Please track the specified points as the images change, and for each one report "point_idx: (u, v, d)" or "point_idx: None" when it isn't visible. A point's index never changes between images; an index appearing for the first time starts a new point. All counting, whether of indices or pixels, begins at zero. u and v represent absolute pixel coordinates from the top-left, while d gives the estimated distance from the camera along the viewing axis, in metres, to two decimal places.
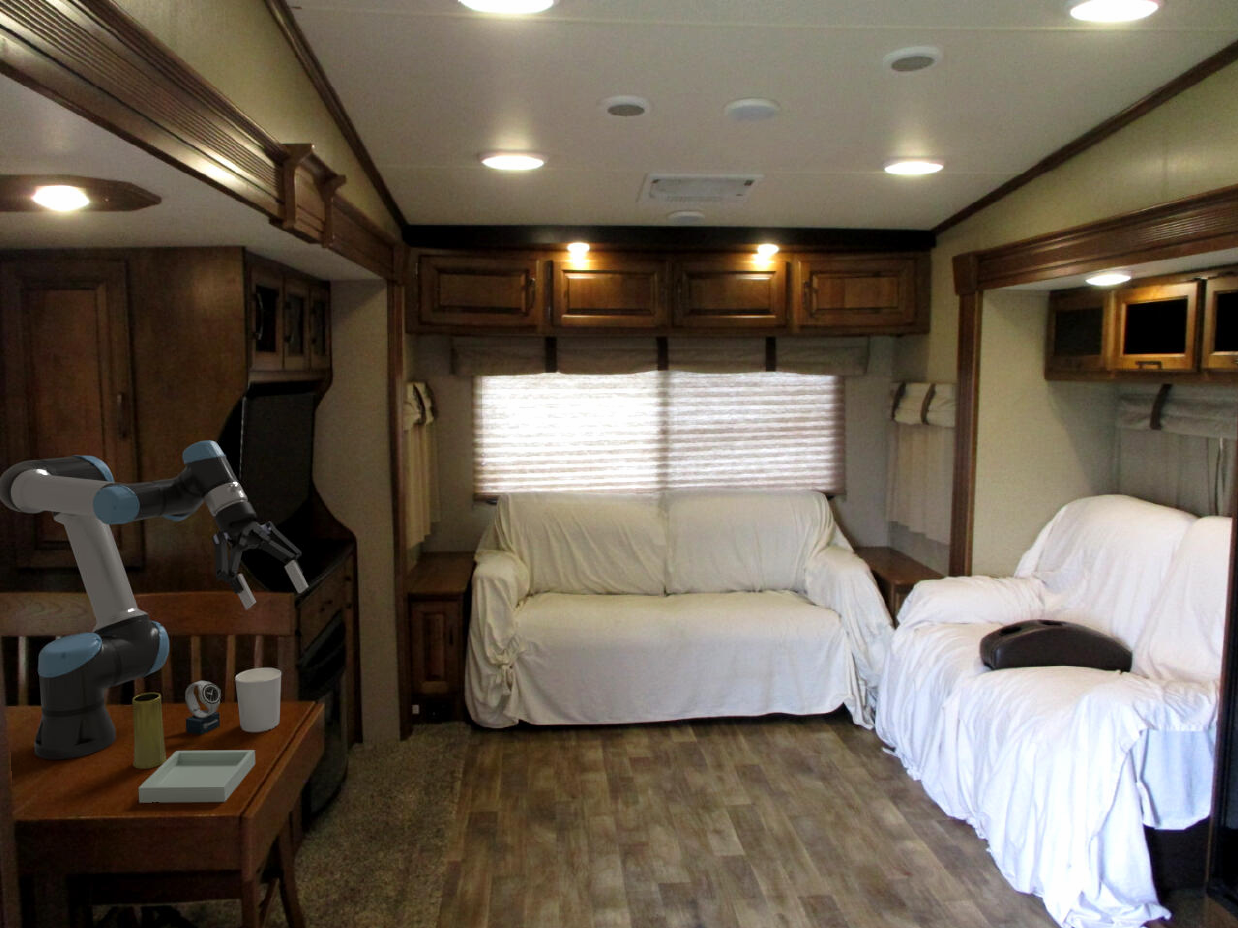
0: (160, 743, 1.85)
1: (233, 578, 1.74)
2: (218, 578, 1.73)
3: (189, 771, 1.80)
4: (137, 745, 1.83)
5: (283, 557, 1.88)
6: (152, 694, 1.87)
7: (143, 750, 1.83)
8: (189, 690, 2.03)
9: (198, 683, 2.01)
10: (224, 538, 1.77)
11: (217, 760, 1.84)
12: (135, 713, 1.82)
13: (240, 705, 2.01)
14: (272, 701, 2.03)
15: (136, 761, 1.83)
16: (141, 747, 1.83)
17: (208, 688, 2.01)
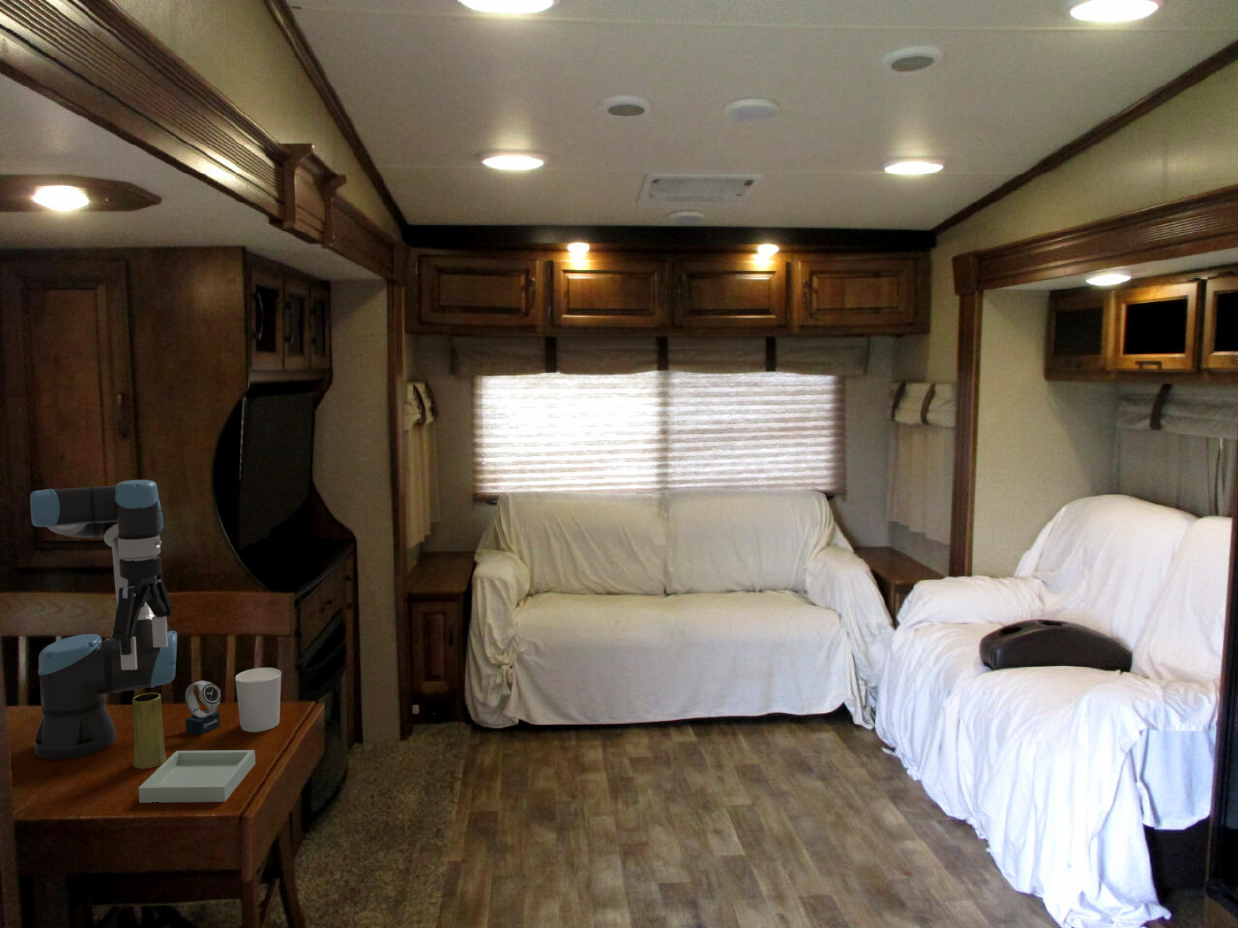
0: (160, 743, 1.85)
1: (128, 641, 1.75)
2: (115, 637, 1.73)
3: (189, 771, 1.80)
4: (137, 745, 1.83)
5: (157, 610, 1.88)
6: (152, 694, 1.87)
7: (143, 750, 1.83)
8: (189, 690, 2.03)
9: (198, 683, 2.01)
10: (133, 596, 1.76)
11: (217, 760, 1.84)
12: (135, 713, 1.82)
13: (240, 705, 2.01)
14: (272, 701, 2.03)
15: (136, 761, 1.83)
16: (141, 747, 1.83)
17: (208, 688, 2.01)
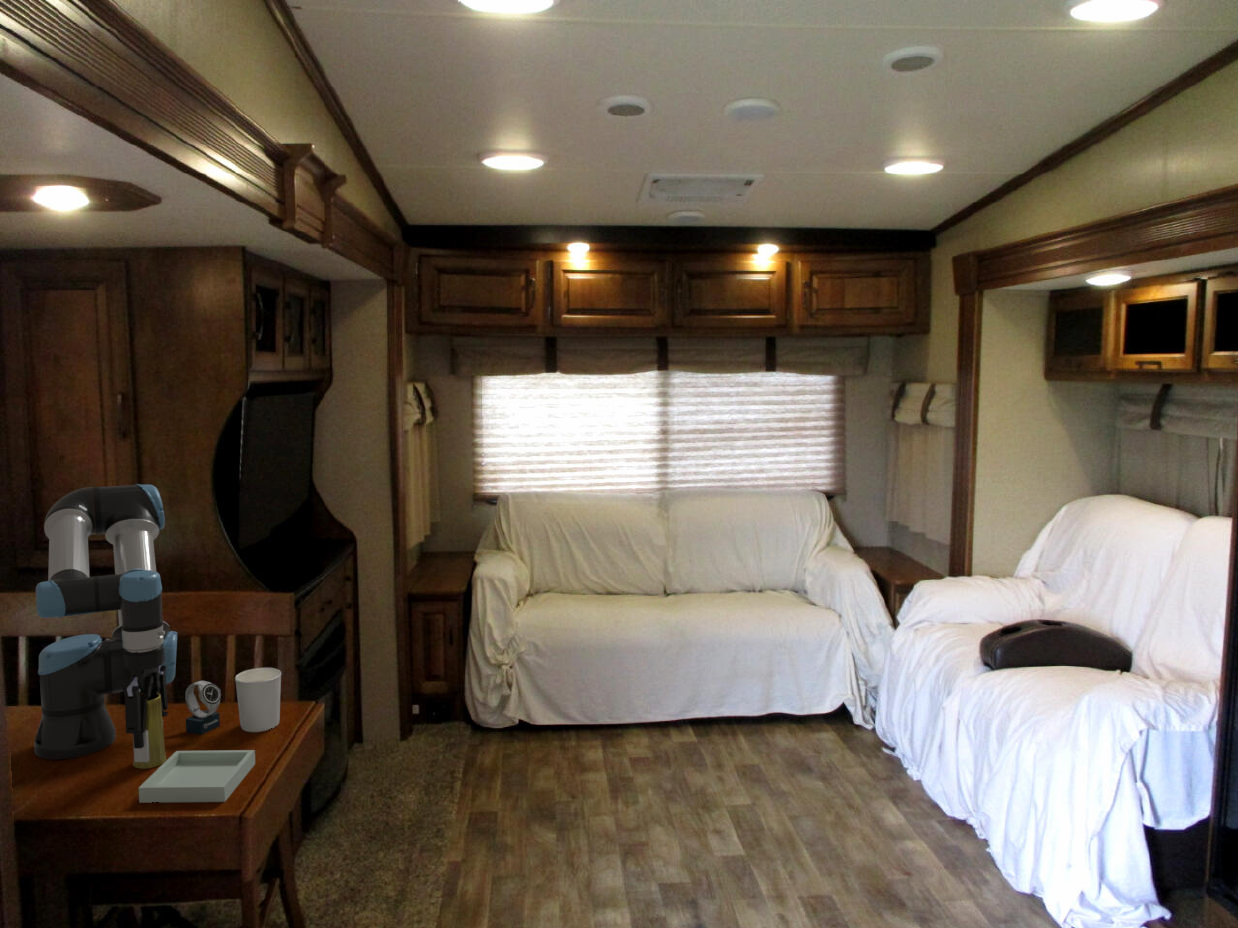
0: (160, 743, 1.85)
1: (140, 735, 1.81)
2: (128, 732, 1.79)
3: (189, 771, 1.80)
4: None
5: None
6: None
7: None
8: (189, 690, 2.03)
9: (198, 683, 2.01)
10: (138, 692, 1.79)
11: (217, 760, 1.84)
12: None
13: (240, 705, 2.01)
14: (272, 701, 2.03)
15: None
16: None
17: (208, 688, 2.01)
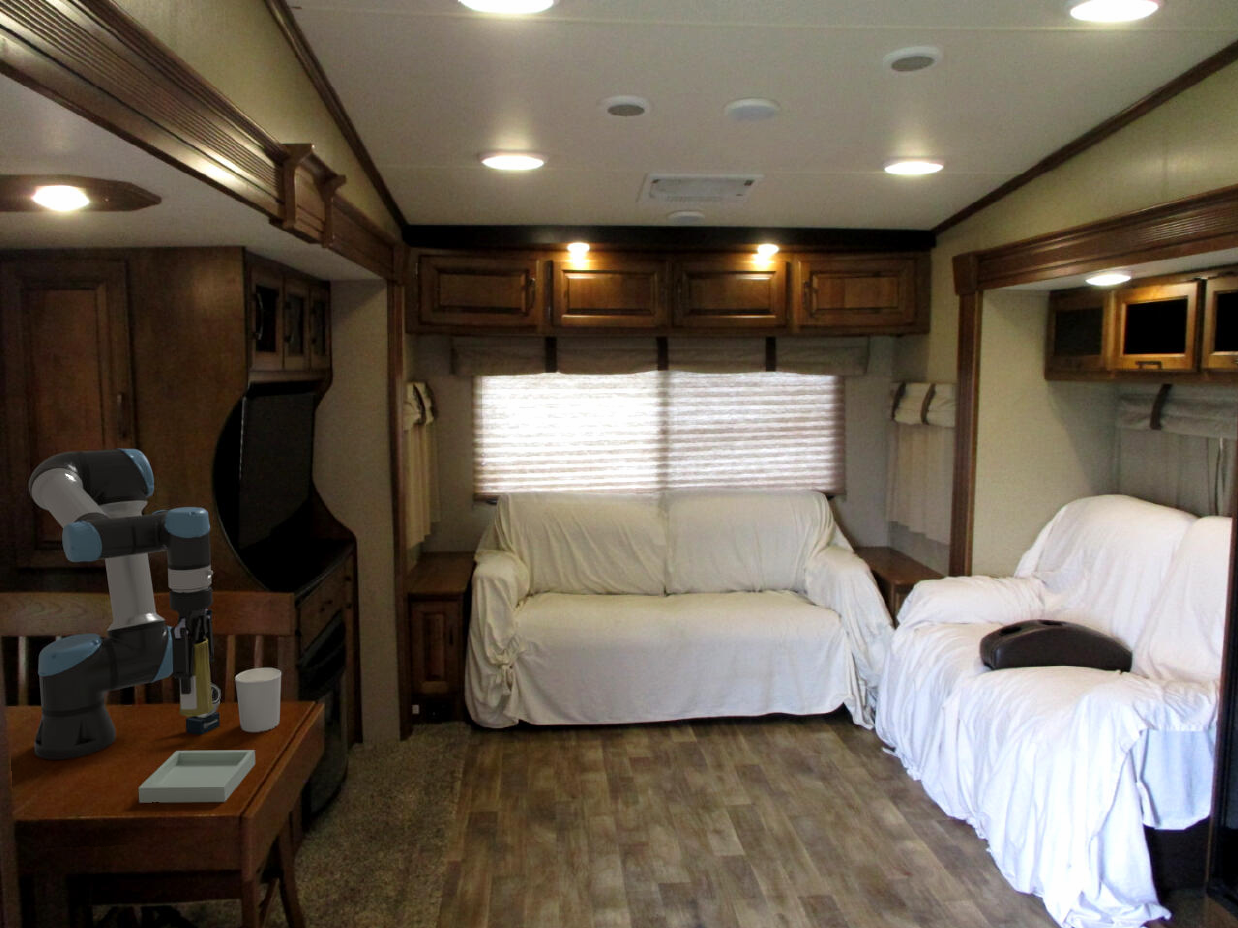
0: (207, 690, 1.75)
1: (188, 680, 1.70)
2: (175, 677, 1.68)
3: (189, 771, 1.80)
4: None
5: None
6: None
7: None
8: None
9: None
10: (186, 634, 1.68)
11: (217, 760, 1.84)
12: None
13: (240, 705, 2.01)
14: (272, 701, 2.03)
15: None
16: None
17: None
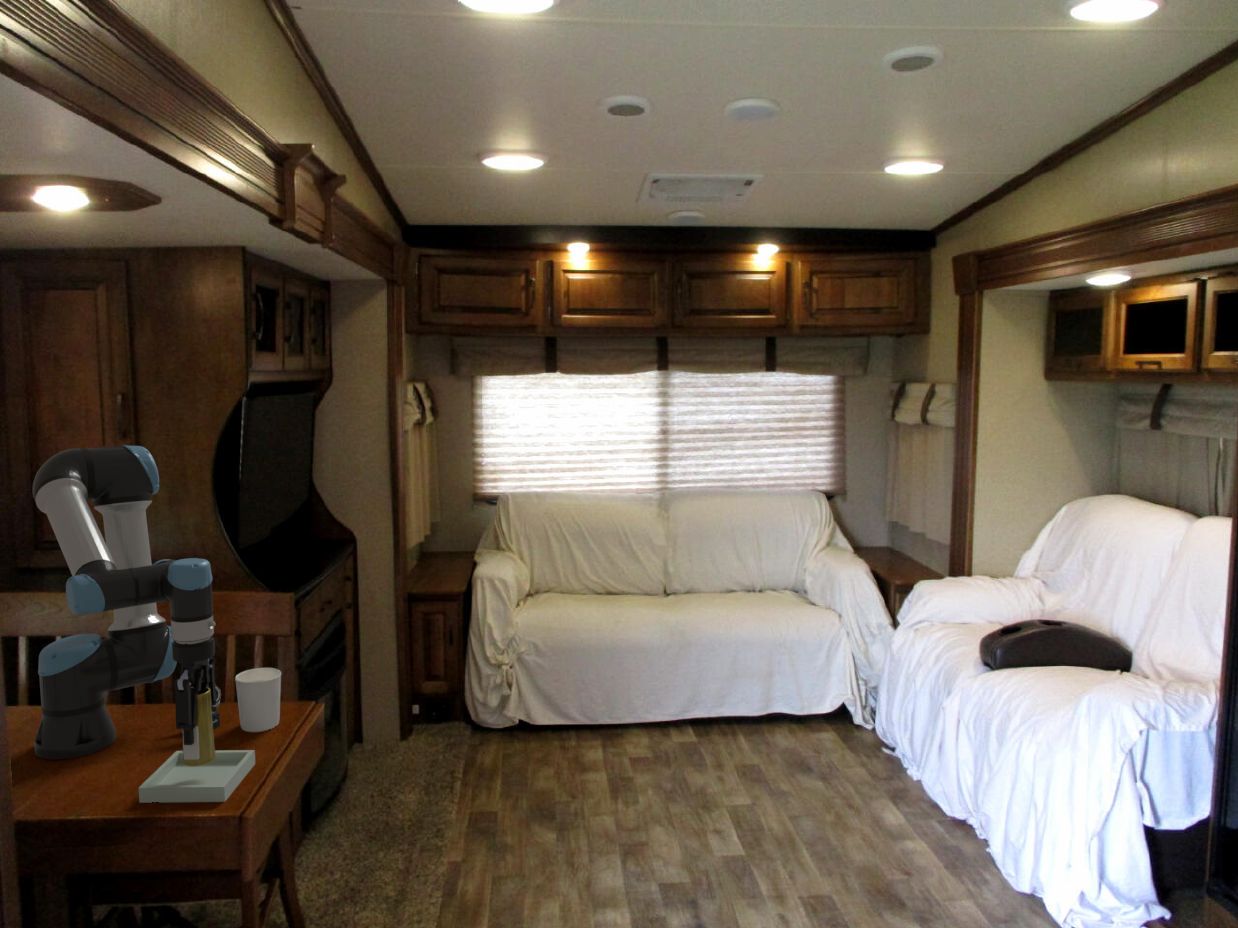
0: (210, 739, 1.76)
1: (191, 731, 1.72)
2: (178, 728, 1.70)
3: (189, 771, 1.80)
4: None
5: None
6: None
7: None
8: None
9: None
10: (189, 686, 1.70)
11: (217, 760, 1.84)
12: None
13: (240, 705, 2.01)
14: (272, 701, 2.03)
15: None
16: None
17: None
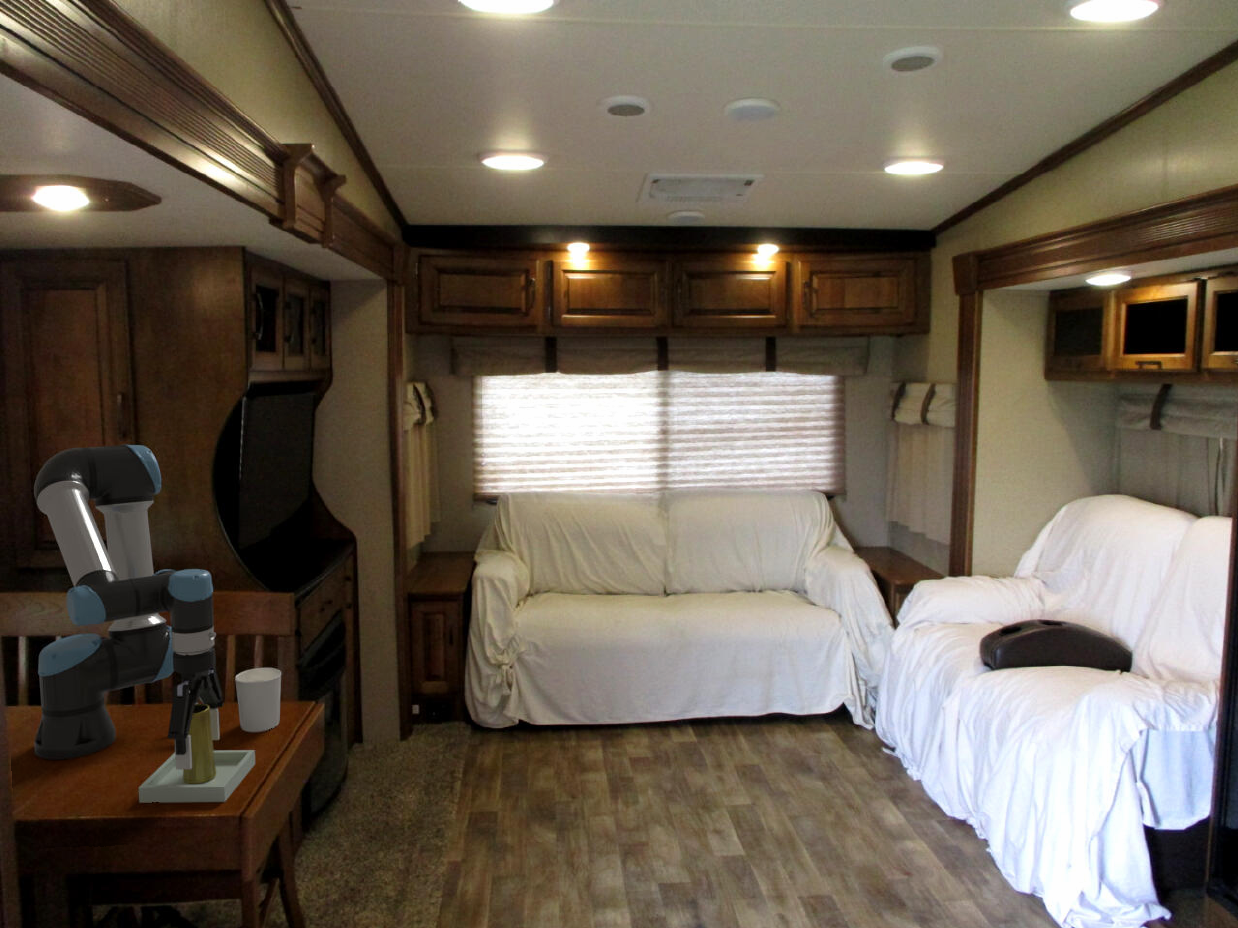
0: (210, 756, 1.76)
1: (183, 740, 1.68)
2: (170, 738, 1.66)
3: None
4: None
5: (209, 702, 1.82)
6: (200, 705, 1.78)
7: (193, 764, 1.74)
8: None
9: None
10: (188, 693, 1.69)
11: (217, 760, 1.84)
12: None
13: (240, 705, 2.01)
14: (272, 701, 2.03)
15: (186, 776, 1.75)
16: None
17: None
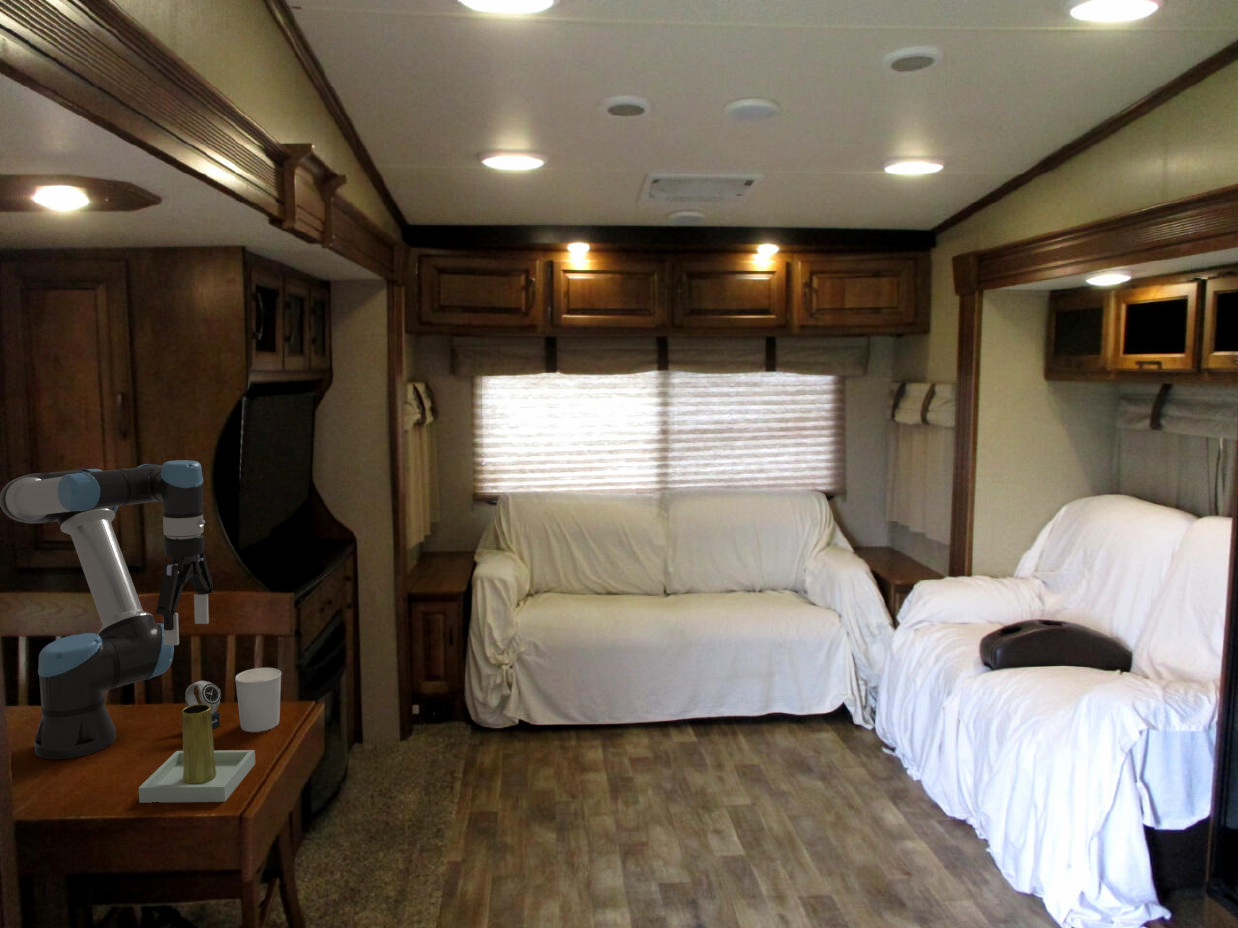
0: (210, 757, 1.77)
1: (170, 617, 1.79)
2: (158, 613, 1.77)
3: None
4: (186, 759, 1.75)
5: (199, 588, 1.93)
6: (201, 705, 1.78)
7: (193, 764, 1.74)
8: (189, 690, 2.03)
9: (198, 683, 2.01)
10: (177, 573, 1.80)
11: (217, 760, 1.84)
12: (185, 726, 1.74)
13: (240, 705, 2.01)
14: (272, 701, 2.03)
15: (186, 776, 1.75)
16: (191, 762, 1.74)
17: (208, 688, 2.01)
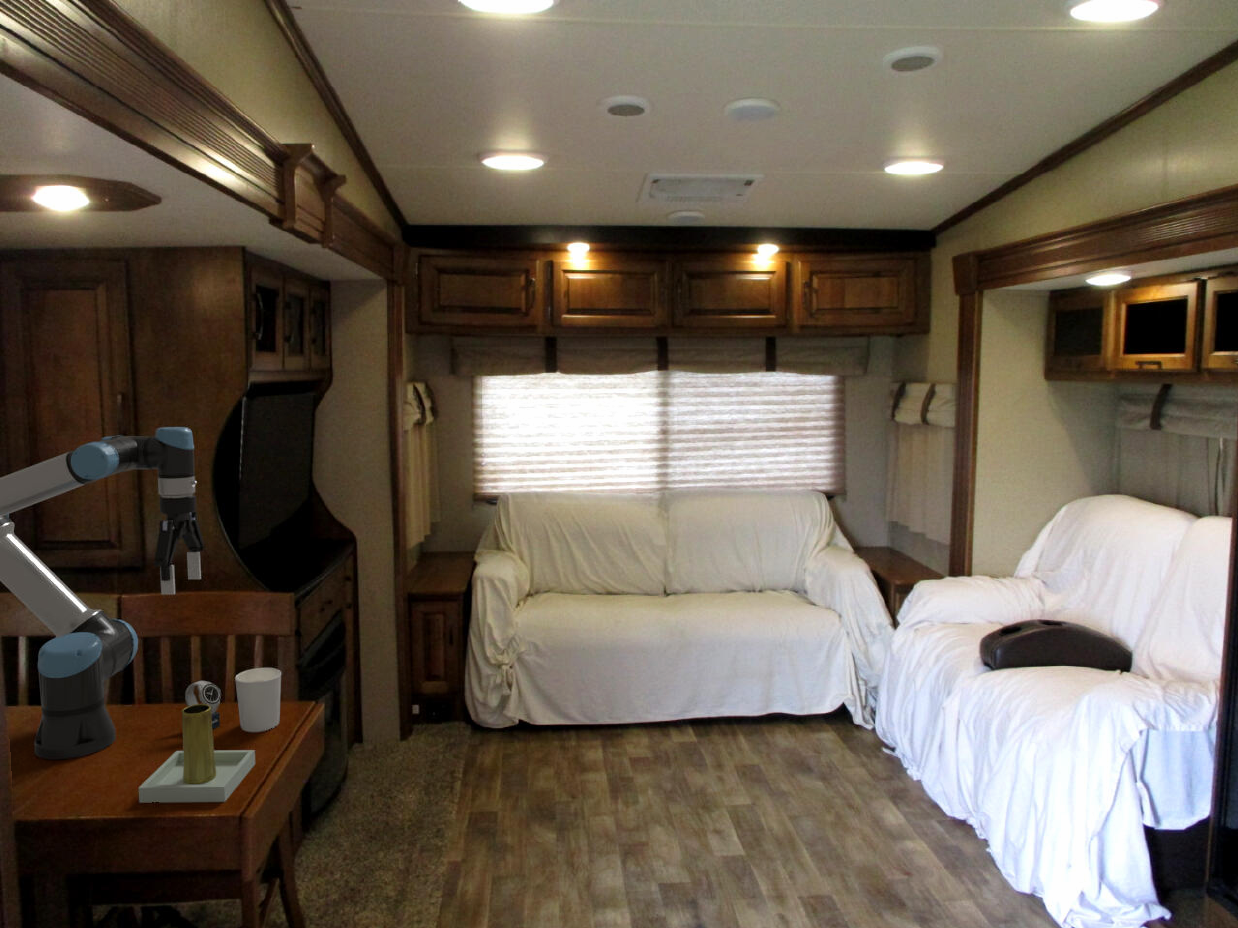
0: (210, 757, 1.77)
1: (167, 568, 1.96)
2: (156, 564, 1.94)
3: None
4: (187, 759, 1.75)
5: (191, 546, 2.10)
6: (201, 705, 1.78)
7: (193, 764, 1.74)
8: (189, 690, 2.03)
9: (198, 683, 2.01)
10: (172, 528, 1.97)
11: (217, 760, 1.84)
12: (185, 726, 1.74)
13: (240, 705, 2.01)
14: (272, 701, 2.03)
15: (186, 776, 1.75)
16: (191, 762, 1.74)
17: (208, 688, 2.01)
